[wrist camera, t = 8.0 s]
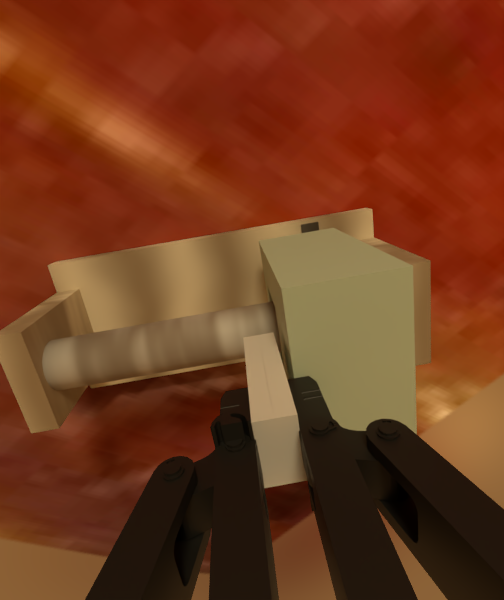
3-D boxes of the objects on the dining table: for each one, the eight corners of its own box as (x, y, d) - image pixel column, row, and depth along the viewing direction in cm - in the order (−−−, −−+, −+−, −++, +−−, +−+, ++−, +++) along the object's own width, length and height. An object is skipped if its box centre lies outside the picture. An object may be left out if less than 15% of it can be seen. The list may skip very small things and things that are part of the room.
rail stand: (96, 380, 30) (43, 461, 21) (55, 261, 27) (-26, 301, 18) (373, 331, 30) (431, 392, 22) (366, 207, 27) (430, 221, 18)
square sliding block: (277, 361, 27) (308, 476, 17) (258, 240, 24) (281, 288, 14) (344, 349, 27) (417, 457, 17) (333, 227, 24) (413, 266, 14)
